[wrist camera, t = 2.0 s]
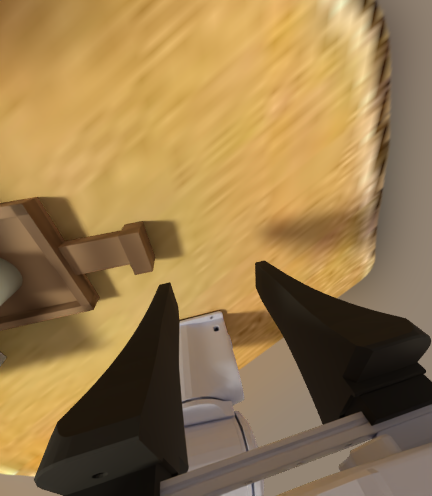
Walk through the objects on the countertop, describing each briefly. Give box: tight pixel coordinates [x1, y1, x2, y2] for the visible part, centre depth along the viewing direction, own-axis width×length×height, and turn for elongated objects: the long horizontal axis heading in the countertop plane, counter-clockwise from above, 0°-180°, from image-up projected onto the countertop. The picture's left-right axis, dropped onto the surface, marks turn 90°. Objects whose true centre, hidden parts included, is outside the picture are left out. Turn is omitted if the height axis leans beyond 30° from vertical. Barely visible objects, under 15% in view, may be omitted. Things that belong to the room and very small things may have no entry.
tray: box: [0, 197, 155, 331], centre depth 16 cm, size 17×11×2 cm, turn 97°
